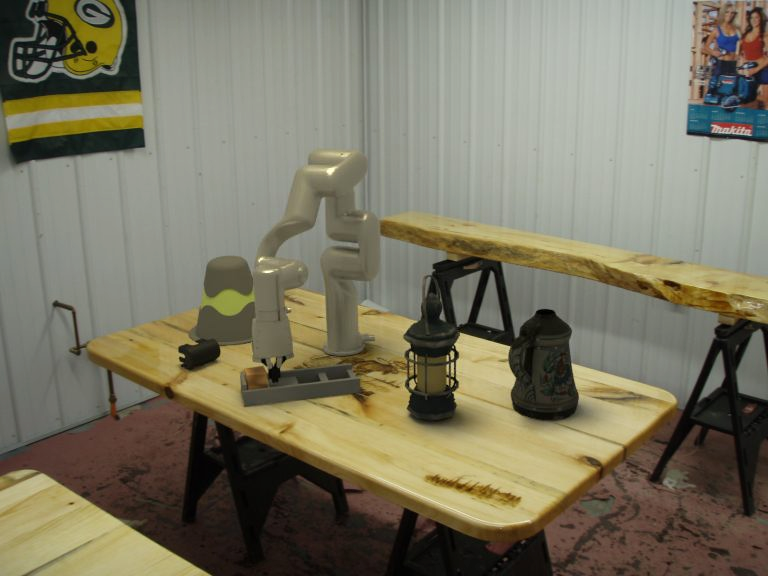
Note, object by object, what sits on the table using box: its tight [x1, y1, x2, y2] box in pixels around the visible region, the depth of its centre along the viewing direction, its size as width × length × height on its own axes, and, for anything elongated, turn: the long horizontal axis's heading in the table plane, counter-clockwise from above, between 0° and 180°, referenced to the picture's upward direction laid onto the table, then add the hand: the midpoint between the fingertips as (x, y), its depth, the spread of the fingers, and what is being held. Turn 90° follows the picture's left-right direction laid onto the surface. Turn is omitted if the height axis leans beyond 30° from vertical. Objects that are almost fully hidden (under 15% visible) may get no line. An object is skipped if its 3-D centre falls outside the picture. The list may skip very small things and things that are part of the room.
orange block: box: [243, 365, 268, 390], centre depth 201 cm, size 5×5×5 cm
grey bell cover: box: [188, 255, 256, 346], centre depth 250 cm, size 28×28×24 cm
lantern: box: [402, 274, 461, 421], centre depth 186 cm, size 14×13×35 cm
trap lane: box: [239, 362, 361, 408], centre depth 205 cm, size 30×11×6 cm, turn 104°
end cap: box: [177, 338, 222, 370], centre depth 225 cm, size 10×7×7 cm
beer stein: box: [507, 308, 580, 421], centre depth 189 cm, size 16×19×25 cm
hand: (274, 380), depth 203 cm, fingers closed
